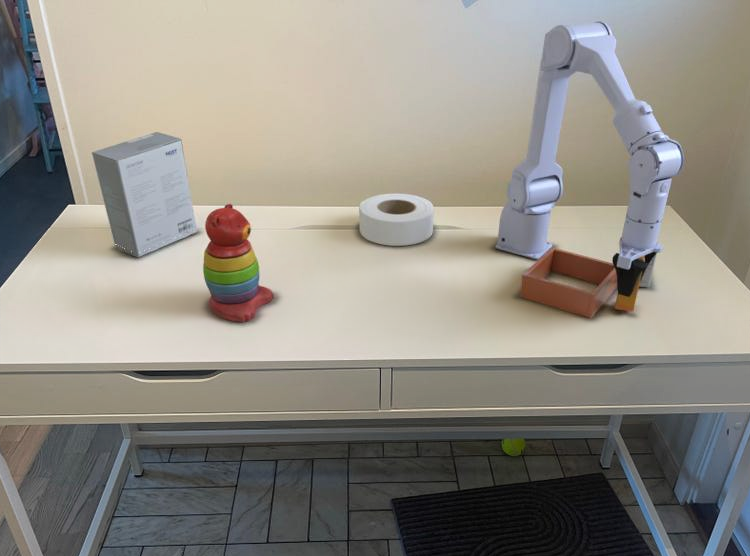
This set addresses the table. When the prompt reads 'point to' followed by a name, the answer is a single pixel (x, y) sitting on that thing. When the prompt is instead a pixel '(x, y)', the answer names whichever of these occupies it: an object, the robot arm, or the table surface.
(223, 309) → the stacking bear
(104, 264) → the table surface
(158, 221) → the hard drive box
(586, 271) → the terracotta planter box
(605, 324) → the table surface
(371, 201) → the tape roll
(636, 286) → the supplement box
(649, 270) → the medicine box
